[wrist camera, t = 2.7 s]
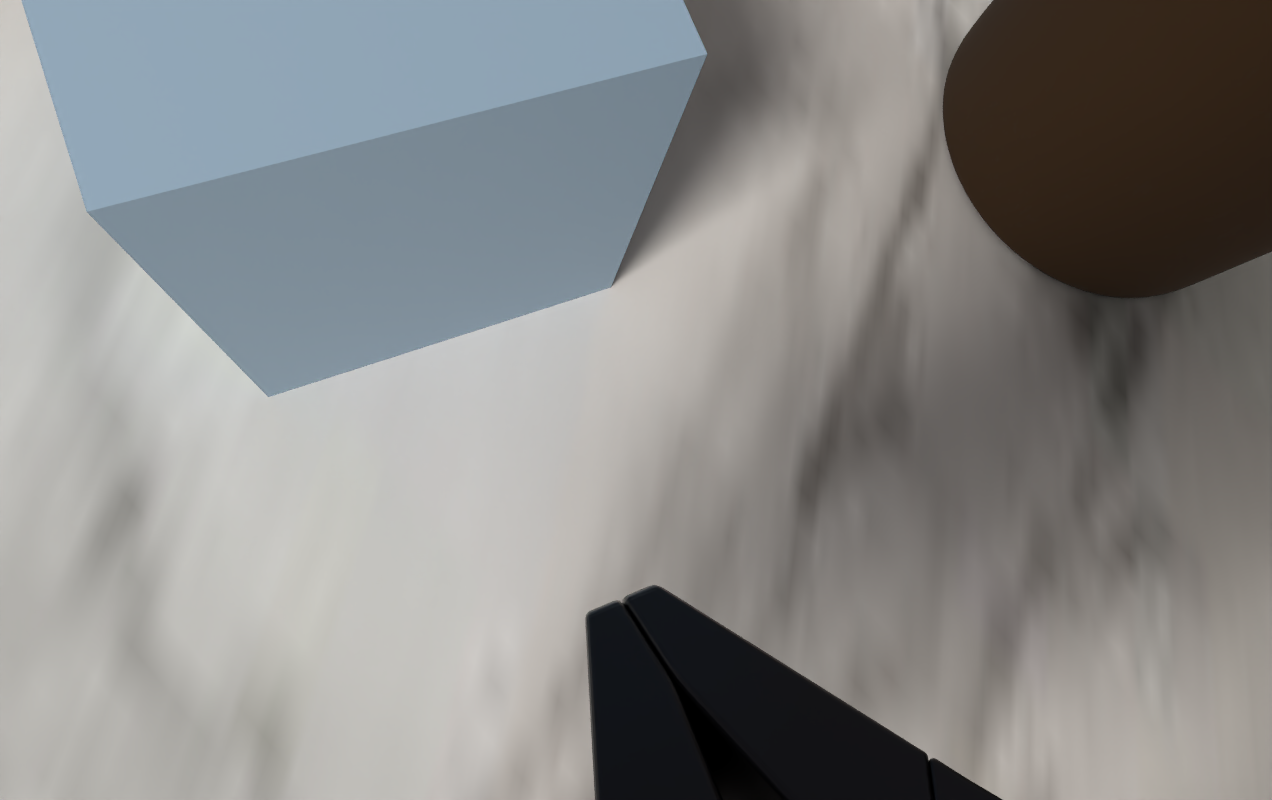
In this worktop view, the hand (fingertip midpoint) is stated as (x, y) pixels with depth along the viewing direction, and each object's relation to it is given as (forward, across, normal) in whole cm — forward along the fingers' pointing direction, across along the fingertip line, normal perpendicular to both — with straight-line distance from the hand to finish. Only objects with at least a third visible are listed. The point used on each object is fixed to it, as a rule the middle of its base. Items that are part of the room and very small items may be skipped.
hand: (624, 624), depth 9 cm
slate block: (+15, 0, -1) cm, 15 cm away
